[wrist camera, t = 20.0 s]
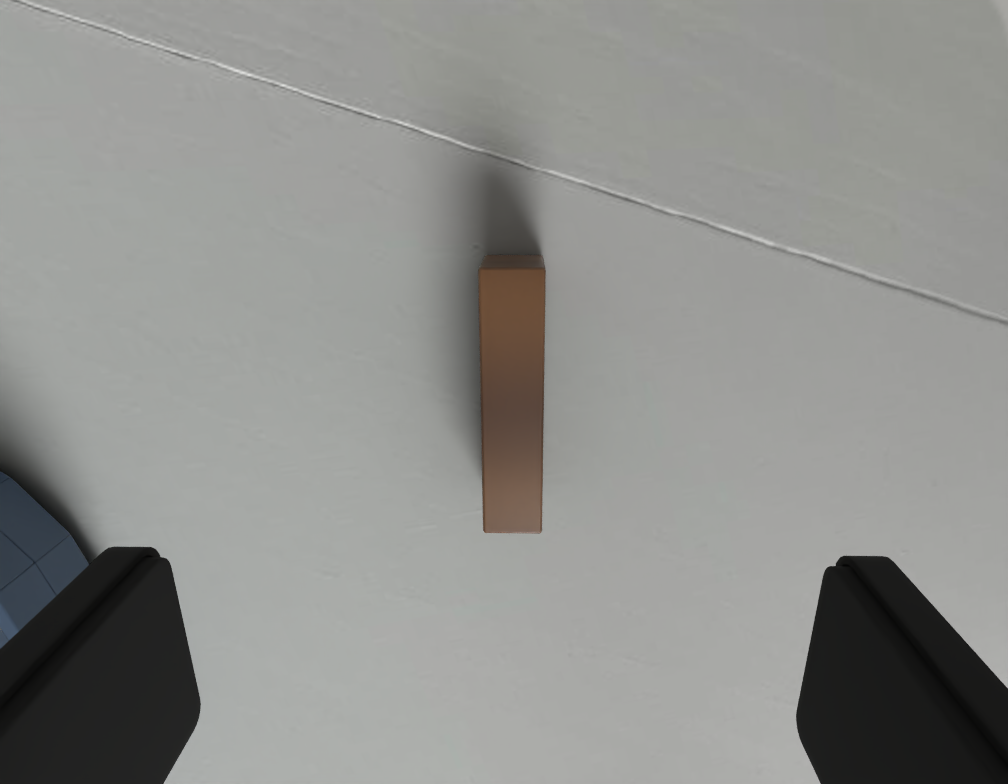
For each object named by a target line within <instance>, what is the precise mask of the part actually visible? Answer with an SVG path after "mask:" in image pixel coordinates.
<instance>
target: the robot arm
mask: <svg viewBox="0 0 1008 784" xmlns="http://www.w3.org/2000/svg"><path fill="white" fill-rule="evenodd" d="M200 705H201V703H200V696H199V692H198V687H197V683H196V678H195V673H194V669H193V664H192V660H191V655H190V651H189V646H188V641H187V637H186V632H185V628H184V623H183V618H182V614H181V609H180V605H179V600H178V596H177V591H176V586H175V582H174V577H173V573H172V568H171V565H170V562H169V561H168V560H167V559H166V558H161V557H160V555H159V553H158V552H157V550H156V549H154V548H151V547H111V548H108V549H106V550H105V551H103V552H102V553H101V554H100V555H99V556H98V557H97V558H96V559H95V560H94V561H93V562H92V563H91V564H90V565H88V566H87V567H86V568H85V569H84V570H83V571H82V572H81V573H80V574H79V575H78V576H77V577H76V578H75V579H74V580H73V581H72V582H70V583H69V584H68V585H67V586H66V587H65V588H64V589H63V590H62V591H61V592H60V593H59V594H58V595H57V596H56V597H55V598H54V599H53V600H51V601H50V602H49V603H48V604H47V605H46V606H45V607H44V608H43V609H42V610H41V611H40V612H39V613H38V614H37V615H36V616H35V617H33V618H32V619H31V620H30V621H29V622H28V623H27V624H26V625H25V626H24V627H23V628H22V629H21V630H20V631H19V632H18V633H17V634H16V635H14V636H13V637H12V638H11V639H10V640H9V641H8V642H7V643H6V644H5V645H4V646H3V647H2V648H1V649H0V784H163V783H164V782H165V780H166V778H167V776H168V775H169V773H170V771H171V769H172V768H173V766H174V764H175V762H176V761H177V759H178V757H179V755H180V754H181V752H182V750H183V748H184V747H185V745H186V743H187V741H188V740H189V738H190V736H191V734H192V733H193V731H194V729H195V727H196V725H197V722H198V719H199V714H200ZM796 721H797V729H798V733H799V737H800V740H801V742H802V745H803V747H804V749H805V751H806V753H807V755H808V757H809V759H810V762H811V764H812V766H813V768H814V770H815V772H816V774H817V777H818V779H819V781H820V783H821V784H1008V688H1007V687H1006V686H1005V685H1004V684H1003V683H1002V682H1001V681H1000V680H999V678H998V677H997V676H996V675H995V674H994V673H993V672H992V671H991V670H990V668H989V667H988V666H987V665H986V664H985V663H984V662H983V661H982V660H981V658H980V657H979V656H978V655H977V654H976V653H975V652H974V651H973V650H972V648H971V647H970V646H969V645H968V644H967V643H966V642H965V641H964V640H963V638H962V637H961V636H960V635H959V634H958V633H957V632H956V631H955V630H954V628H953V627H952V626H951V625H950V624H949V623H948V622H947V621H946V620H945V618H944V617H943V616H942V615H941V614H940V613H939V612H938V611H937V610H936V608H935V607H934V606H933V605H932V604H931V603H930V602H929V601H928V600H927V598H926V597H925V596H924V595H923V594H922V593H921V592H920V591H919V590H918V588H917V587H916V586H915V585H914V584H913V583H912V582H911V581H910V580H909V578H908V577H907V576H906V575H905V574H904V573H903V572H902V571H901V570H900V568H899V567H898V566H897V565H896V564H895V563H894V562H893V561H892V560H891V559H889V558H888V557H884V556H843V557H840V558H839V560H838V561H837V563H836V566H830V567H827V569H826V570H825V572H824V575H823V580H822V585H821V590H820V595H819V600H818V605H817V611H816V616H815V621H814V626H813V631H812V636H811V641H810V646H809V651H808V656H807V661H806V666H805V672H804V677H803V682H802V687H801V692H800V697H799V702H798V707H797V714H796Z"/></svg>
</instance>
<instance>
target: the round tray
mask: <svg viewBox="0 0 1008 784" xmlns="http://www.w3.org/2000/svg"><path fill="white" fill-rule="evenodd" d="M88 565H89V563H88V561H87V560H86V558H85V557H84V555H83V553H82V552H81V550H80V548H79V547H78V545H77V544H76V542H75V540H74V539H73V537H72V535H70V533H69V532H68V531H67V530H66V529H65V528H64V527H63V526H62V525H61V524H60V523H59V522H58V521H56V520H55V519H54V518H53V517H52V516H51V515H50V514H49V513H48V512H47V511H46V510H45V509H44V508H43V507H42V506H41V505H40V504H39V503H37V502H36V501H35V500H34V499H33V498H32V497H31V496H30V495H29V494H28V493H27V492H26V491H25V490H24V489H23V488H22V487H21V486H19V485H18V484H17V483H16V482H15V481H14V480H13V479H12V478H10V477H9V476H8V475H6V474H4V473H3V472H1V471H0V649H1V648H2V647H3V646H4V645H5V644H6V643H7V642H8V641H9V640H10V639H11V638H12V637H13V636H14V635H16V634H17V633H18V632H19V631H20V630H21V629H22V628H23V627H24V626H25V625H26V624H27V623H28V622H29V621H30V620H31V619H32V618H33V617H35V616H36V615H37V614H38V613H39V612H40V611H41V610H42V609H43V608H44V607H45V606H46V605H47V604H48V603H49V602H50V601H51V600H53V599H54V598H55V597H56V596H57V595H58V594H59V593H60V592H61V591H62V590H63V589H64V588H65V587H66V586H67V585H68V584H69V583H70V582H72V581H73V580H74V579H75V578H76V577H77V576H78V575H79V574H80V573H81V572H82V571H83V570H84V569H85V568H86V567H87V566H88Z"/></svg>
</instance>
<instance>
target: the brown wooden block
mask: <svg viewBox="0 0 1008 784" xmlns="http://www.w3.org/2000/svg"><path fill="white" fill-rule="evenodd" d="M545 274H546V270H545V265H544V259H543V256H542V255H486V256H485V257H484V259H483V261H482V263H481V265H480V267H479V269H478V289H479V340H480V391H481V442H482V494H483V530H484V532H485V533H541V531H542V485H543V415H544V344H545Z"/></svg>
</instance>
